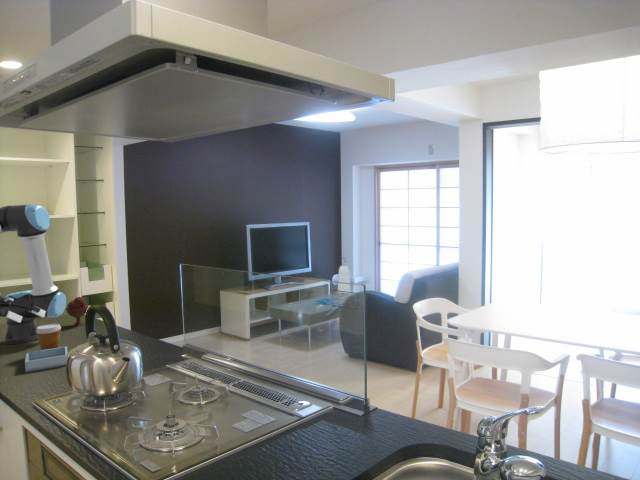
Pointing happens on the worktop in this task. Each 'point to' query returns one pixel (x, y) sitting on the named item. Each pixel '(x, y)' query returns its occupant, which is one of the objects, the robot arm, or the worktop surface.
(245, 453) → the worktop surface
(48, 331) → the disposable coffee cup
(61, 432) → the worktop surface
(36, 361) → the tote
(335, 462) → the worktop surface
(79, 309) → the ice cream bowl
